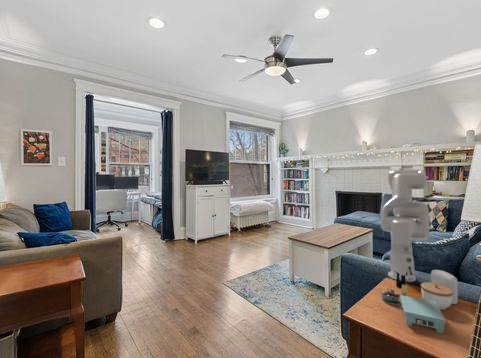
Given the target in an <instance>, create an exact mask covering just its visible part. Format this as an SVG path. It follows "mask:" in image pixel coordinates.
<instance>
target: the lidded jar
mask: <svg viewBox="0 0 481 358" xmlns="http://www.w3.org/2000/svg"><path fill="white" fill-rule="evenodd" d="M420 289H421V296H422V299H424V300H429V301H434V302H436V304H437V306H438V307H439V309H440V311H441V310H446V309H447V308H449V307H450V306H451V305H452V304H451V303H452V300H453V291H452V290H451V289H450V288H448V287H446V286H443V285H440V284H436V283H431V282H422V283H421V284H420Z"/></svg>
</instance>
